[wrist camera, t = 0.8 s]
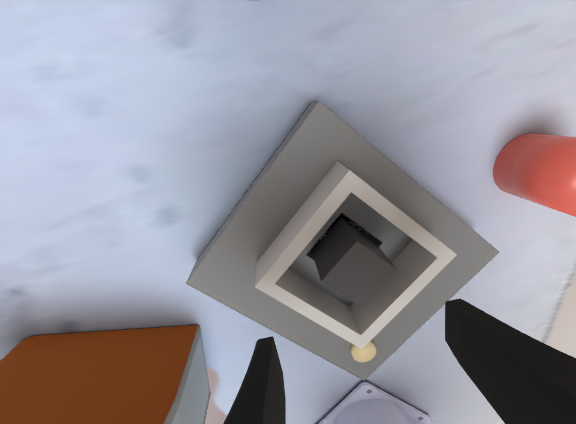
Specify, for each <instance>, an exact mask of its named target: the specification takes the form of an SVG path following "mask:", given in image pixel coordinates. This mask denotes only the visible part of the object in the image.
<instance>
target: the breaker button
mask: <svg viewBox="0 0 576 424" xmlns="http://www.w3.org/2000/svg"><path fill="white" fill-rule="evenodd" d="M312 254H313V258H314V261H315V264H316V267H317V271H318V274H319V277H320V280H321V282H322V283H324V284H325V285H327V286H328V287H330V288H332V289H333V290H335V291H336V292H338V293H339V294H341V295H343V296H344V297H346V298H347V299H349V300H351V301H352V302H354V303H355V304H357V305H359V306H360V307H362V306H363V305H364V304H365V303H366V302H367V301H368V300H369V299H370V297H371V296H372V295H373V294H374V293H375V292H376V291H377V290H378V289H379V288H380V287H381V286H382V285H383V284H384V283H385V282H386V281H387V280H388V279H389V278H390V277H391V276H392V275H393V274H394V272H395V271H396V270H397V269H396V267H395V266H394V265H393V264H392V262H391V261H390V260H389V259H388V258H387V256H386V255H385V254H384V253H383V251H382V250H381V249H380V248H379V246H378V245H377V244H376V243H375V242H374V241H373V240H372V239H370V238H369V237H368V236H366V235H365V234H363V233H362V232H361V231H359V230H358V229H356V228H355V227H354V226H352V225H351V224H350V223H348V222H347V221H345V220H344V219H343V218H340V219H339V220H338V221H337V222H336V224H335V225H334V226H333V227H332V228H331V230H330V231H329V232H328V233H327V234H326V235H325V237H324V238H323V239H322V240H321V241H320V243H319V244H318V245H317V246H316V247H315V248H314V250H313V251H312Z"/></svg>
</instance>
